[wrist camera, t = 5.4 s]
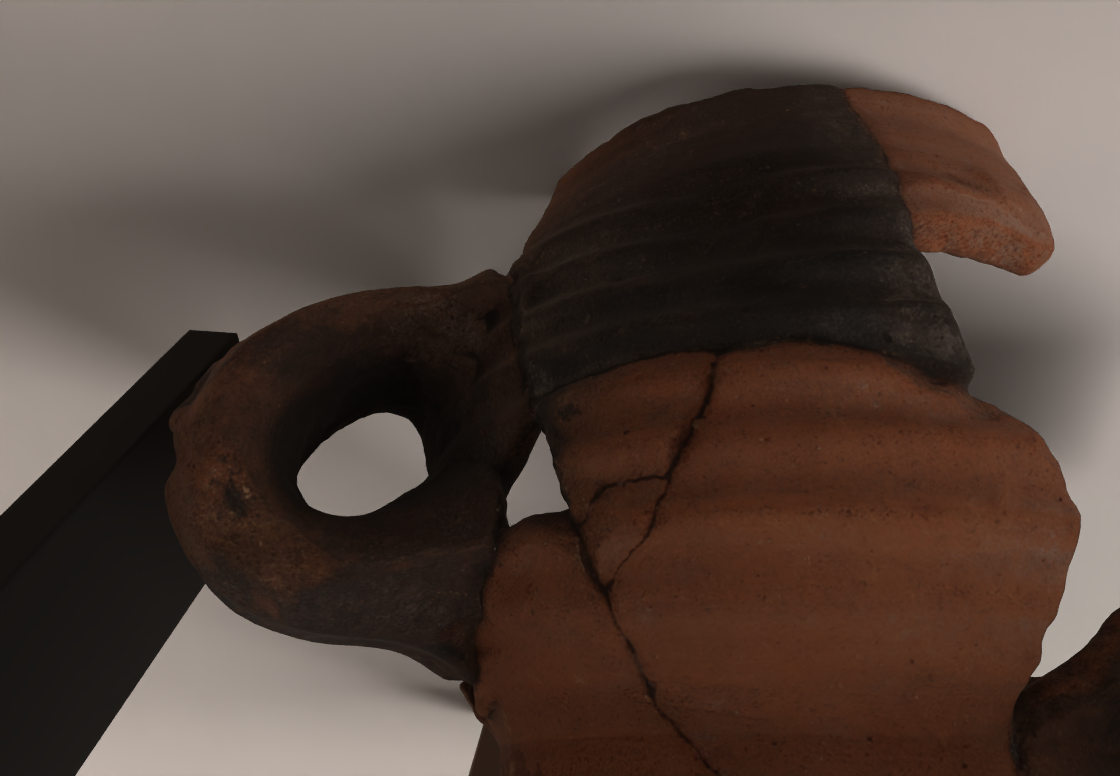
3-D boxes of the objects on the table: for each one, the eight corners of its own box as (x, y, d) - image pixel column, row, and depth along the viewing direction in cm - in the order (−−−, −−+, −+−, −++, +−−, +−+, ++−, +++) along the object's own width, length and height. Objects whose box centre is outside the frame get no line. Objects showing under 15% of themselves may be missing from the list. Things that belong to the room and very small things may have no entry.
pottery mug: (1267, 97, 10) (1614, 910, 7) (860, 412, 19) (919, 850, 15) (191, -117, 8) (-127, 896, 5) (275, 346, 17) (185, 834, 13)
